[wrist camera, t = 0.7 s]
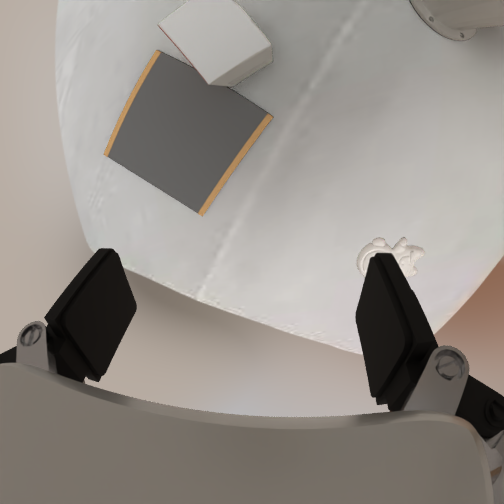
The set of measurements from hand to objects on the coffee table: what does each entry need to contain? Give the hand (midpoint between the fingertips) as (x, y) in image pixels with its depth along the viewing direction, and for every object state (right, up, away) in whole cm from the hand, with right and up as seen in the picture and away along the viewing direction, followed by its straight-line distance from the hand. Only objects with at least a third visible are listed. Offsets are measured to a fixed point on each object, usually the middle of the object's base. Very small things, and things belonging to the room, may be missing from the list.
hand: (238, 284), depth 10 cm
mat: (-9, +17, +23) cm, 30 cm away
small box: (-2, +26, +17) cm, 31 cm away
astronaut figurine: (+23, 0, +32) cm, 39 cm away
